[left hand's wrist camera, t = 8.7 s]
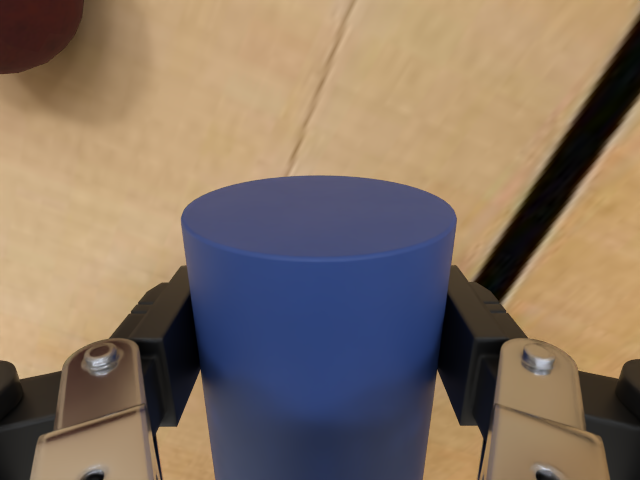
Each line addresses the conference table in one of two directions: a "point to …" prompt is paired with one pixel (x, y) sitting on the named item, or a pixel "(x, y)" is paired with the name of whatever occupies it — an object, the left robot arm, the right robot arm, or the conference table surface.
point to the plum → (35, 31)
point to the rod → (318, 324)
